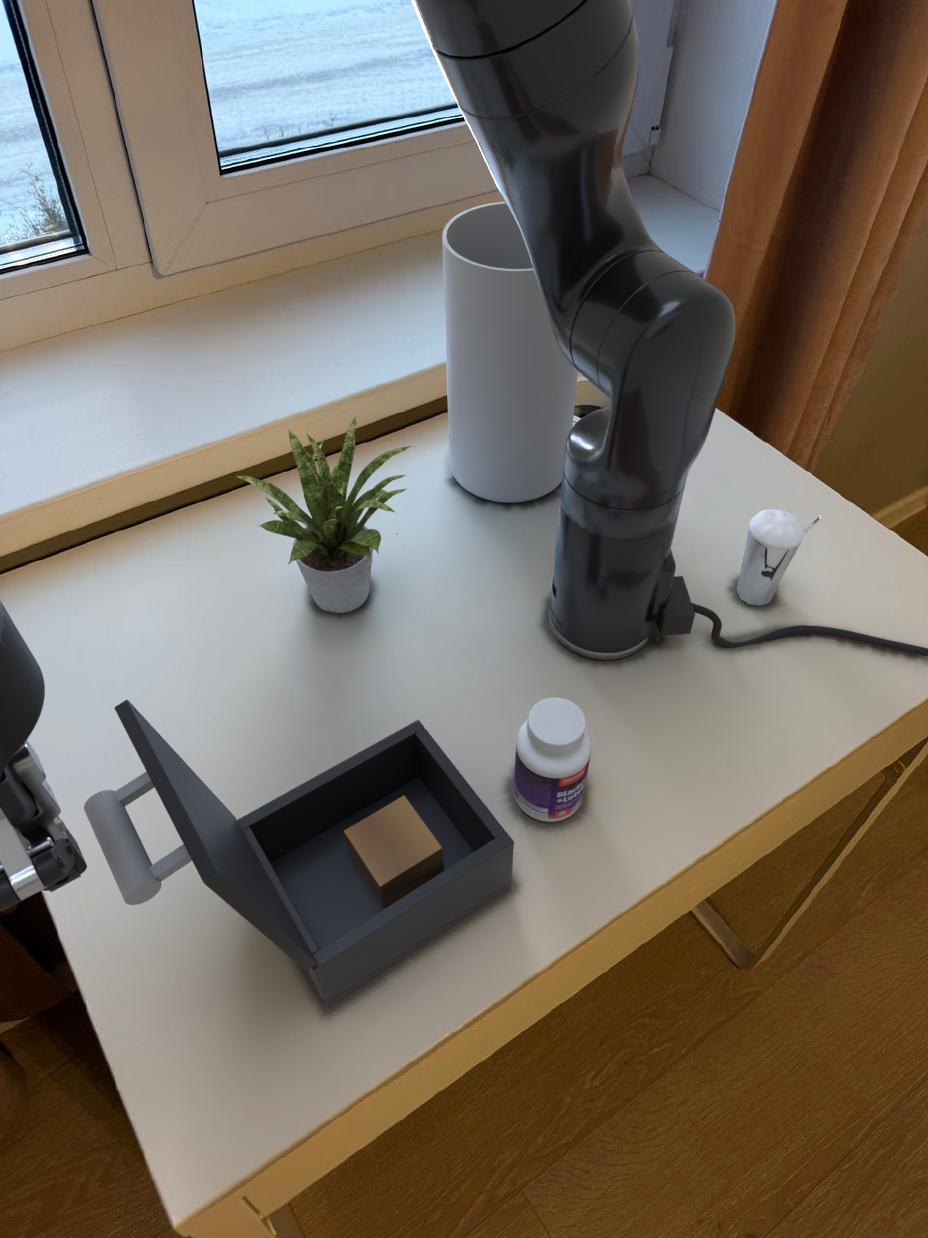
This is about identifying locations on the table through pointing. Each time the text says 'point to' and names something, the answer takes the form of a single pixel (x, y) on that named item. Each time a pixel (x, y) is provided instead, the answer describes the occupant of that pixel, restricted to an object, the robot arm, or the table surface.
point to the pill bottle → (552, 760)
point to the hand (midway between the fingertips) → (62, 869)
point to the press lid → (188, 840)
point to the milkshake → (768, 554)
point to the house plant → (331, 523)
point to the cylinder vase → (501, 363)
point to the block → (394, 850)
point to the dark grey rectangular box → (333, 885)
